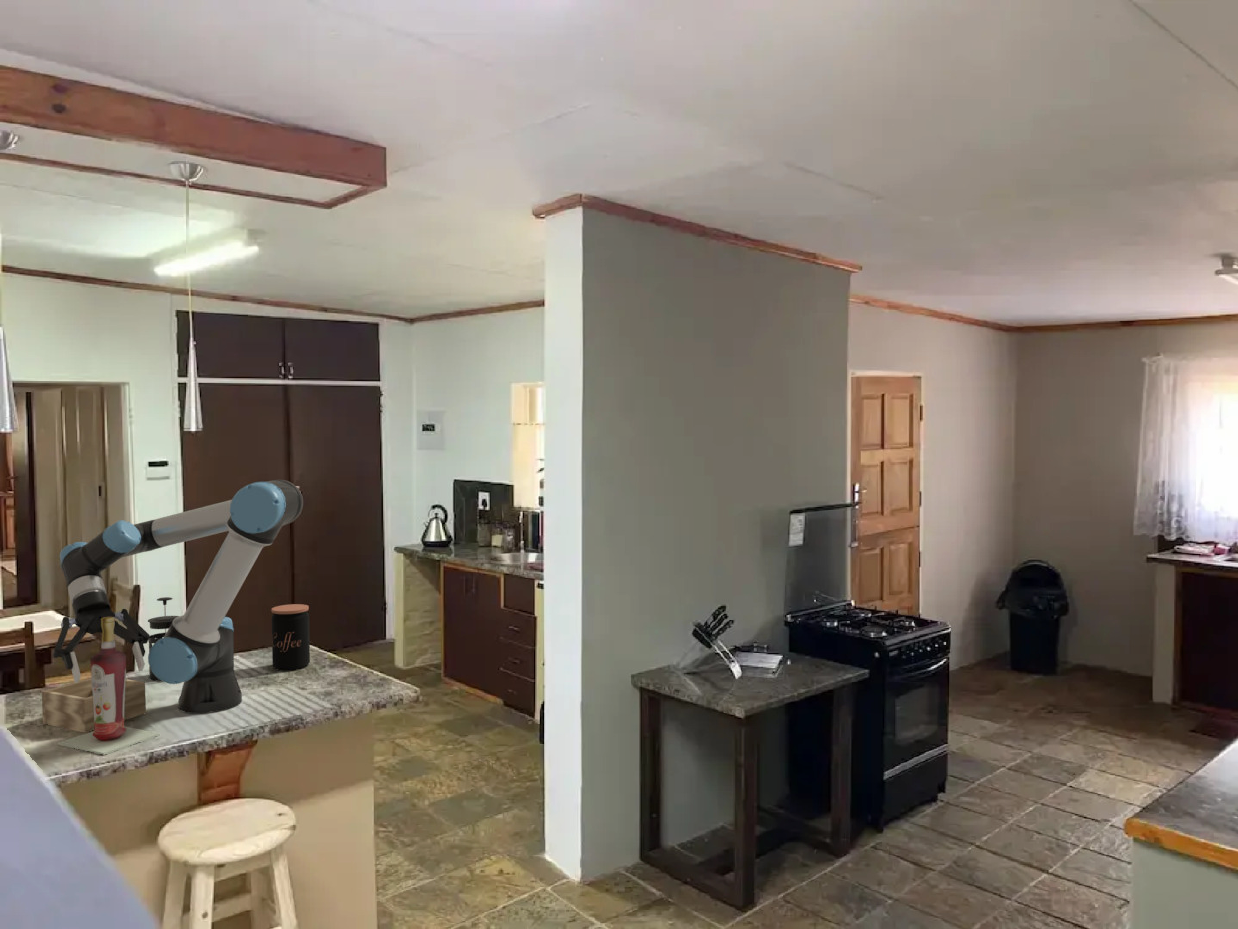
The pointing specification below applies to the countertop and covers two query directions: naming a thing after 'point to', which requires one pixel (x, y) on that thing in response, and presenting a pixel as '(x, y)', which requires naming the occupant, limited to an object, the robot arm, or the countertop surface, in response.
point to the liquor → (108, 686)
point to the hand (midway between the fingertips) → (110, 673)
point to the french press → (159, 623)
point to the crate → (86, 704)
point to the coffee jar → (290, 637)
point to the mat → (106, 747)
